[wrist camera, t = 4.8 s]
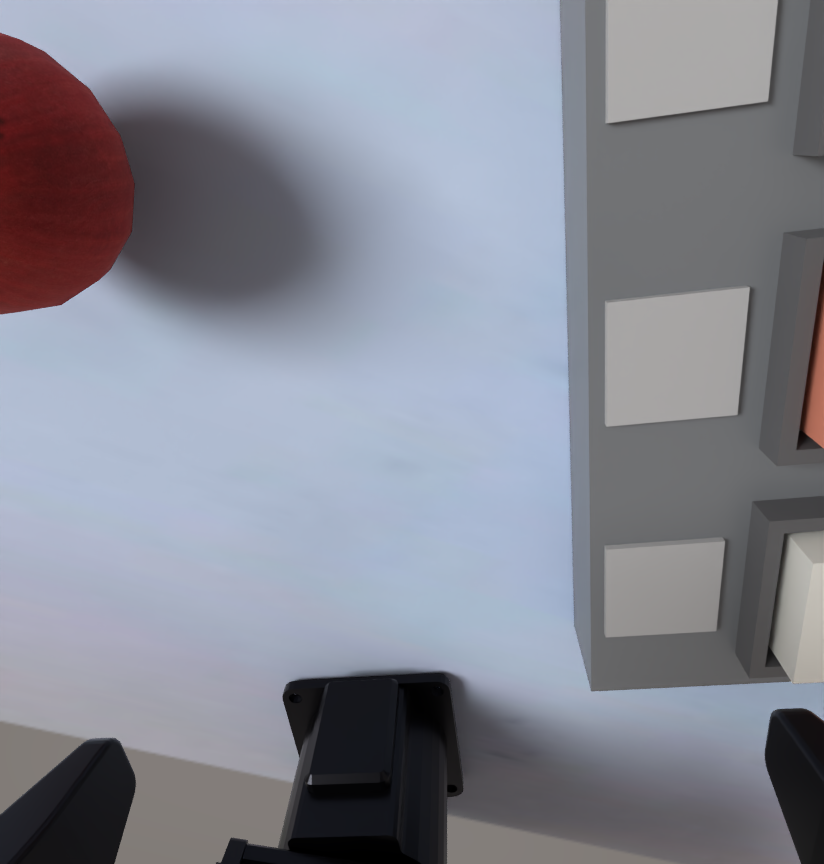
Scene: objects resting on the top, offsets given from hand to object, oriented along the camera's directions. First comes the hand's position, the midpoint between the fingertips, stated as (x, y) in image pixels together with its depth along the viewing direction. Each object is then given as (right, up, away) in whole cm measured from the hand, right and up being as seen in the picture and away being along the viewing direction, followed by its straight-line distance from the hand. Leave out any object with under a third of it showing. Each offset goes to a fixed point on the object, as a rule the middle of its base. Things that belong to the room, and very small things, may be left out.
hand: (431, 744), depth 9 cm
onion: (-9, +12, +9) cm, 17 cm away
